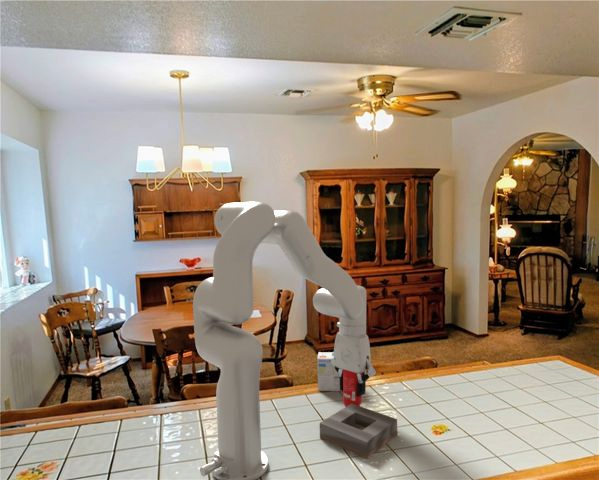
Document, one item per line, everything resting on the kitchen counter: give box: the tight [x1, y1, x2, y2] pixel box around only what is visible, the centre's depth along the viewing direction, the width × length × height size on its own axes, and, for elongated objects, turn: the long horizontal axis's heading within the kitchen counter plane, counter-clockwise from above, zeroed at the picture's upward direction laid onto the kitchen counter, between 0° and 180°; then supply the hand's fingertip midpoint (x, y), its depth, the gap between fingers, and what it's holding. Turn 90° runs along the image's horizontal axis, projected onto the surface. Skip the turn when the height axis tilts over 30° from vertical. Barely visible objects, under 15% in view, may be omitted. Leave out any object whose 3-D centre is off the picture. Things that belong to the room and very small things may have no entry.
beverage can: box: [342, 370, 363, 408], centre depth 122 cm, size 5×5×12 cm
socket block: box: [319, 404, 398, 459], centre depth 109 cm, size 14×14×4 cm
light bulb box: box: [316, 351, 341, 392], centre depth 139 cm, size 11×7×11 cm, turn 84°
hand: (352, 391), depth 122 cm, fingers closed on beverage can, 5 cm apart
